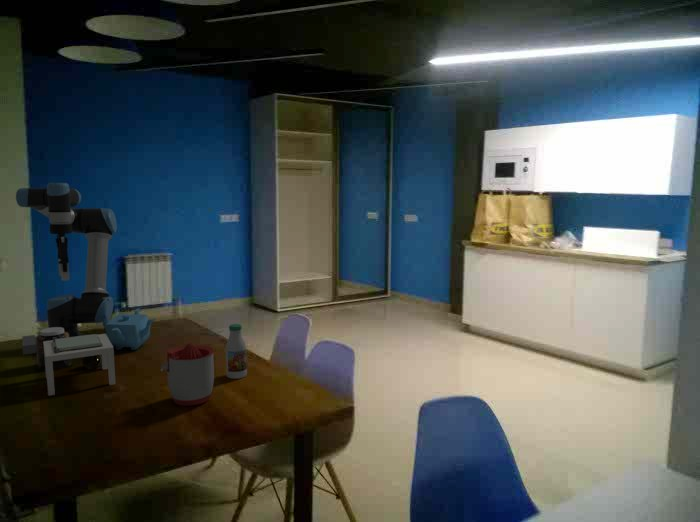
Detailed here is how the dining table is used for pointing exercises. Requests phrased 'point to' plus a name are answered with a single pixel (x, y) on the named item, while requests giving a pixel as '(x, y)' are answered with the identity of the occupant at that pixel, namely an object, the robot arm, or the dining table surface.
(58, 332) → the jar
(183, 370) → the citrus juicer
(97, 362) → the cup
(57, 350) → the frame
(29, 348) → the trapdoor
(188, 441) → the dining table surface
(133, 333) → the teakettle
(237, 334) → the milk bottle
